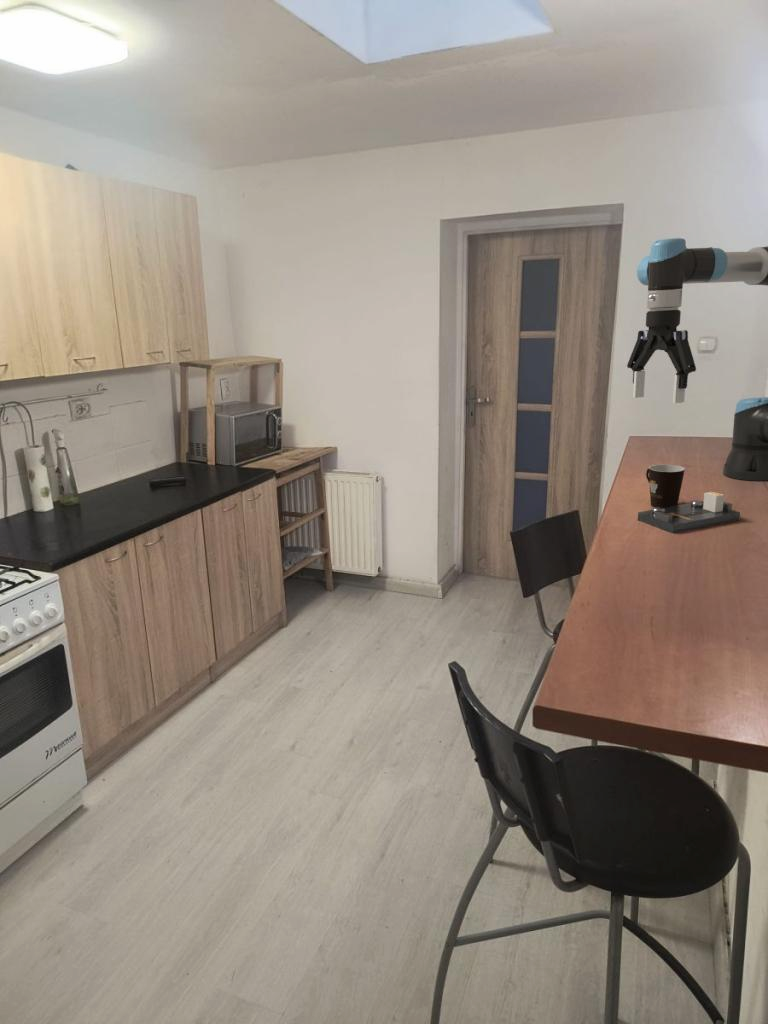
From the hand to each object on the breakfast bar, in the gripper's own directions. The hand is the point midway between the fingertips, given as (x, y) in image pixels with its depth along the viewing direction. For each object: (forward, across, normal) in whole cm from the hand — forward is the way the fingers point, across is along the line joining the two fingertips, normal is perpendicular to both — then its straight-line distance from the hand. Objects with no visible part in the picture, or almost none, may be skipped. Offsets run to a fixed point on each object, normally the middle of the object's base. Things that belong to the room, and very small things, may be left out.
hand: (657, 399), depth 163 cm
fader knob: (+26, +13, +7) cm, 30 cm away
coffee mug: (+28, -2, +6) cm, 29 cm away
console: (+28, +12, +1) cm, 30 cm away
